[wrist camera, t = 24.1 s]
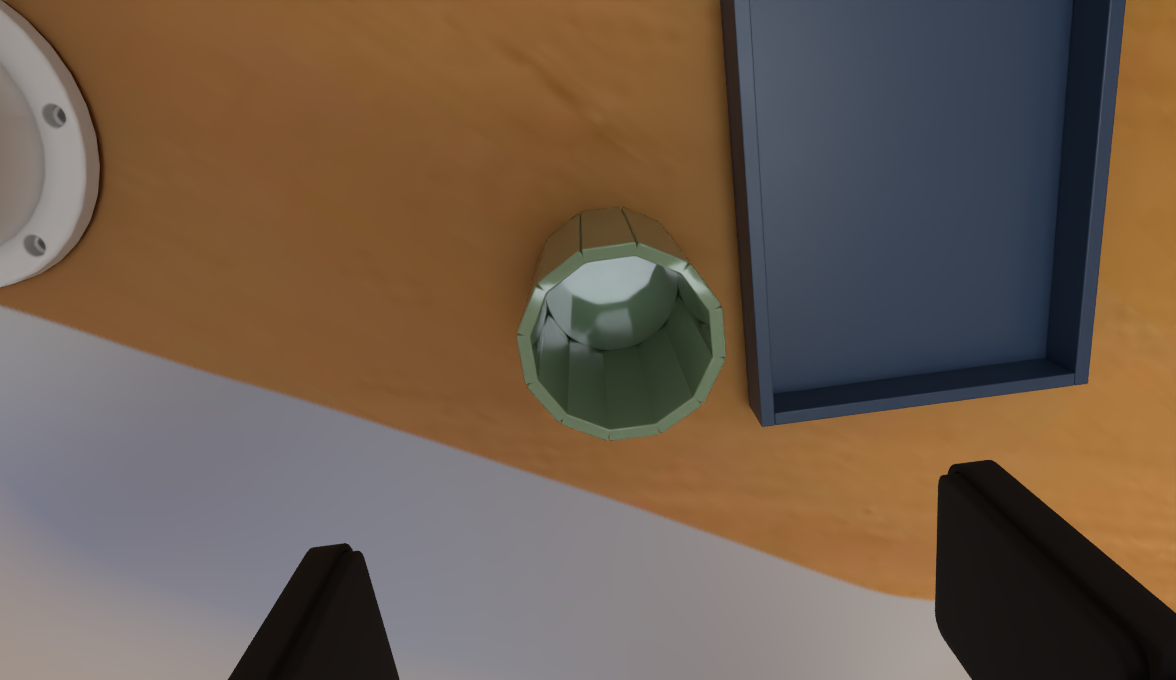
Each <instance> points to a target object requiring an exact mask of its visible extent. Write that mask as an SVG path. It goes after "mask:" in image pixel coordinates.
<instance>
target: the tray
mask: <svg viewBox="0 0 1176 680" xmlns="http://www.w3.org/2000/svg"><path fill="white" fill-rule="evenodd" d="M720 1H721V15H722V29H723V43H724V57H725V71H726V85H727V99H728V112H729V126H730V140H731V154H732V168H733V182H734V196H735V210H736V224H737V238H738V252H739V266H740V280H741V294H742V307H743V321H744V335H745V349H746V363H747V377H748V391H749V405H750V407H751V409H752V411H753V412H754V414H755V416H756V417H757V419H758V421H759V423H760V424H761V426H762V427H765V426H773V425H780V424H787V423H795V422H802V421H810V420H818V419H825V418H833V417H840V416H848V415H855V414H863V413H870V412H878V411H885V410H893V409H900V408H908V407H915V406H923V405H931V404H938V403H946V402H953V401H961V400H968V399H976V398H983V397H991V396H998V395H1006V394H1013V393H1021V392H1028V391H1036V390H1044V389H1051V388H1059V387H1066V386H1073V385H1081V384H1087V383H1088V376H1089V366H1090V356H1091V346H1092V335H1093V325H1094V315H1095V305H1096V295H1097V285H1098V275H1099V265H1100V255H1101V245H1102V235H1103V225H1104V215H1105V205H1106V194H1107V184H1108V174H1109V164H1110V154H1111V144H1112V134H1113V124H1114V114H1115V104H1116V94H1117V84H1118V74H1119V64H1120V53H1121V43H1122V33H1123V23H1124V13H1125V3H1126V0H720Z"/></svg>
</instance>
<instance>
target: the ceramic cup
mask: <svg viewBox="0 0 1176 680" xmlns="http://www.w3.org/2000/svg"><path fill="white" fill-rule="evenodd" d="M720 305H721V304H720V302H719V301H718V300H717V298H716V297H715V295H714V294H713V293H712V291H711V290H710V289H709V287H708V286H707V285H706V283H705V282H704V281H703V279H702V278H701V277H700V275H699V274H698V273H697V271H696V270H695V269H694V267H693V266H692V264H691V263H690V262H689V260H688V259H687V258H686V256H685V255H684V254H683V252H682V251H681V250H680V248H679V247H678V246H677V244H676V243H675V242H674V240H673V239H672V238H671V236H670V235H669V234H668V232H667V231H666V230H665V228H664V227H663V226H662V224H661V223H659V222H658V221H656V220H654V219H652V218H649V217H647V216H644V215H642V214H639V213H637V212H634V211H632V210H630V209H627V208H625V207H622V209H621V208H620V207H612V208H605V209H598V210H591V211H584V212H581V215H580V214H579V213H578V214H577V215H575V216H574V217H573V218H572V219H570V220H569V221H568V222H567V223H565V224H564V225H563V226H562V227H560V228H559V229H558V230H557V231H555V232H554V233H553V234H552V235H550V236H549V238H548V239H547V240H546V242H545V245H544V248H543V250H542V253H541V255H540V258H539V261H538V263H537V266H536V268H535V271H534V273H533V277H532V281H531V284H530V288H529V291H528V295H527V298H526V302H525V305H524V309H523V312H522V316H521V319H520V323H519V326H518V330H517V343H518V348H519V353H520V359H521V364H522V370H523V375H524V381H525V383H527V388H528V389H529V390H530V391H531V392H532V393H533V394H534V396H535V397H536V398H537V399H538V400H539V401H540V402H541V404H542V405H543V406H544V407H545V408H546V409H547V410H548V412H549V413H550V414H551V415H552V416H553V417H554V418H555V419H556V421H557V422H560V421H561V424H562V425H564V426H567V427H570V428H573V429H575V430H578V431H581V432H584V433H587V434H589V435H592V436H595V437H598V438H600V439H603V440H607V439H608V437H609V440H610V441H614V440H622V439H629V438H637V437H644V436H652V435H658V433H659V432H658V430H659V431H660V432H661V433H663V432H664V431H666V430H667V429H669V428H670V427H671V426H673V425H674V424H676V423H677V422H679V421H680V420H681V419H683V418H684V417H686V416H687V415H689V414H690V413H692V412H693V411H694V410H696V409H697V408H699V407H700V406H701V403H700V402H702V403H704V402H705V400H706V398H707V396H708V394H709V392H710V390H711V388H712V386H713V384H714V382H715V380H716V377H717V375H718V373H719V371H720V369H721V367H722V365H723V363H724V361H725V358H724V357H725V356H726V348H725V336H724V323H723V311H722V307H721V306H720Z"/></svg>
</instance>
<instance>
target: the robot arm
mask: <svg viewBox="0 0 1176 680" xmlns="http://www.w3.org/2000/svg"><path fill="white" fill-rule="evenodd" d="M99 173H100V162H99V154H98V146H97V138H96V134H95V131H94V127H93V124H92V121H91V118H90V114H89V111H88V108H87V105H86V103H85V101H84V99H83V97H82V95H81V93H80V91H79V89H78V87H77V85H76V83H75V81H74V79H73V77H72V75H71V73H70V72H69V70H68V69H67V68H66V66H65V65H64V63H63V62H62V61H61V59H60V58H59V56H58V55H57V53H56V52H55V51H54V49H53V48H52V46H51V45H50V44H49V43H48V42H47V41H46V40H45V39H44V38H43V37H42V36H41V35H40V34H39V32H38V31H37V30H36V29H35V28H34V27H33V26H32V25H31V24H30V23H29V22H28V21H27V20H26V19H25V18H24V17H22V16H21V15H20V14H19V13H17V12H16V11H15V10H13V9H12V8H11V7H10V6H8V5H7V4H6V3H4V2H3V1H2V0H0V287H2V286H6V285H10V284H14V283H18V282H20V281H23V280H26V279H28V278H31V277H34V276H37V275H39V274H41V273H43V272H44V271H46V270H47V269H49V268H50V267H52V266H54V265H55V264H57V263H58V262H60V261H61V260H62V259H63V258H64V257H65V256H66V255H67V254H68V253H69V252H70V251H71V249H72V248H73V247H74V246H75V245H76V244H77V243H78V242H79V240H80V238H81V236H82V235H83V233H84V231H85V229H86V228H87V226H88V224H89V222H90V220H91V217H92V214H93V210H94V207H95V203H96V200H97V196H98V188H99ZM935 616H936V622H937V625H938V628H939V631H940V633H941V635H942V637H943V638H944V640H945V641H946V643H947V644H948V646H949V647H950V649H951V650H952V652H953V653H954V654H955V656H956V657H957V659H958V660H959V662H960V663H961V665H962V666H963V667H964V669H965V670H966V672H967V673H968V674H969V676H970V677H971V679H972V680H1176V613H1175V612H1174V611H1172V610H1171V609H1170V608H1169V607H1168V606H1166V605H1165V604H1164V603H1163V602H1162V601H1161V600H1159V599H1158V598H1157V597H1156V596H1155V595H1153V594H1152V593H1151V592H1150V591H1149V590H1147V589H1146V588H1145V587H1144V586H1143V585H1141V584H1140V583H1139V582H1138V581H1137V580H1135V579H1134V578H1133V577H1132V576H1131V575H1130V574H1128V573H1127V572H1126V571H1125V570H1124V569H1122V568H1121V567H1120V566H1119V565H1118V564H1116V563H1115V562H1114V561H1113V560H1112V559H1110V558H1109V557H1108V556H1107V555H1106V554H1104V553H1103V552H1102V551H1101V550H1100V549H1099V548H1097V547H1096V546H1095V545H1094V544H1093V543H1091V542H1090V541H1089V540H1088V539H1087V538H1085V537H1084V536H1083V535H1082V534H1081V533H1079V532H1078V531H1077V530H1076V529H1075V528H1073V527H1072V526H1071V525H1070V524H1069V523H1067V522H1066V521H1065V520H1064V519H1063V518H1062V517H1060V516H1059V515H1058V514H1057V513H1056V512H1054V511H1053V510H1052V509H1051V508H1050V507H1048V506H1047V505H1046V504H1045V503H1044V502H1042V501H1041V500H1040V499H1039V498H1038V497H1036V496H1035V495H1034V494H1033V493H1032V492H1031V491H1029V490H1028V489H1027V488H1026V487H1025V486H1023V485H1022V484H1021V483H1020V482H1019V481H1017V480H1016V479H1015V478H1014V477H1013V476H1011V475H1010V474H1009V473H1008V472H1007V471H1005V470H1004V469H1003V468H1002V467H1001V466H1000V465H998V464H997V463H996V462H994V461H992V460H984V461H976V462H968V463H960V464H953V465H952V466H951V467H950V469H949V471H948V475H942V476H941V477H940V479H939V483H938V516H937V555H936V595H935ZM228 680H399V676H398V672H397V669H396V666H395V662H394V659H393V655H392V652H391V648H390V645H389V642H388V638H387V635H386V631H385V628H384V624H383V621H382V617H381V614H380V610H379V607H378V604H377V600H376V597H375V593H374V590H373V587H372V583H371V580H370V576H369V573H368V569H367V566H366V562H365V559H364V556H363V554H362V553H361V552H360V551H353V550H352V548H351V547H350V546H349V545H348V544H346V543H344V544H336V545H329V546H321V547H313V548H311V549H309V551H308V552H307V553H306V555H305V556H304V558H303V559H302V561H301V563H300V564H299V566H298V567H297V569H296V571H295V572H294V574H293V575H292V577H291V579H290V580H289V582H288V584H287V585H286V587H285V588H284V590H283V592H282V593H281V595H280V596H279V598H278V600H277V601H276V603H275V605H274V606H273V608H272V609H271V611H270V613H269V614H268V616H267V618H266V619H265V621H264V622H263V624H262V626H261V627H260V629H259V630H258V632H257V634H256V635H255V637H254V638H253V640H252V642H251V643H250V645H249V646H248V648H247V650H246V651H245V653H244V655H243V656H242V658H241V660H240V661H239V663H238V664H237V666H236V668H235V669H234V671H233V673H232V674H231V676H230V677H229V679H228Z"/></svg>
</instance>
